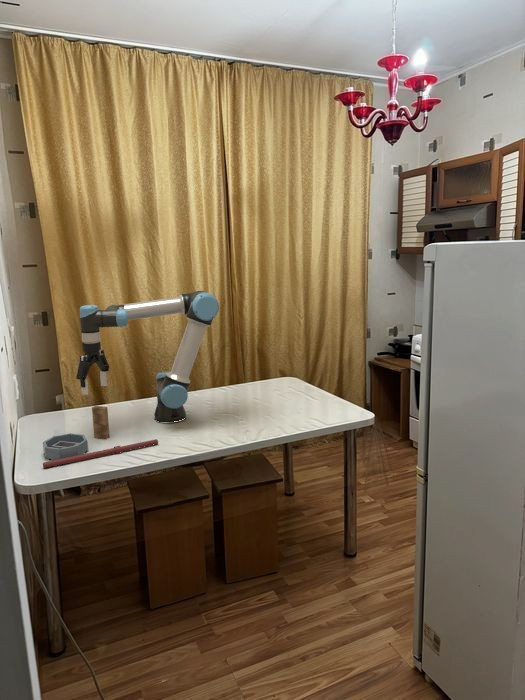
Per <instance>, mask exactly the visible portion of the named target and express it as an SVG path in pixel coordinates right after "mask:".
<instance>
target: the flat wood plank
mask: <svg viewBox="0 0 525 700" xmlns="http://www.w3.org/2000/svg"><path fill="white" fill-rule="evenodd" d="M91 414H92V426H93V438H94V439H97V438H98V440H99V439H100V440H108V439H109V438H110V425H109V424H110V423H109V410H108V406H102V405H100V406H99V405H94V406H93V407H91Z"/></svg>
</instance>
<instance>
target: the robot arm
mask: <svg viewBox="0 0 525 700" xmlns="http://www.w3.org/2000/svg"><path fill="white" fill-rule="evenodd" d="M219 304H220V303H219V301H218V299H217V298H216V296H214V295H213V294H212V293H210V292H207V291H204V290H195V291H191V292H187V293H181V294H179V295H178V296H177V297H176V296H175V297H168V298H167V297H166V298H161V299H154V300H148V301H147V300H146V301H139V302H132V303H124V304H117V305H116V304H111V305H108V306H107V307H106V308H105V309H99V306H98V305H94V304H89V305H88V304H87V305H81V306H80V307H79V324H80V325H79V326H80V333H81V342H82V343H81V347H82V352H84V355H80V356H79V363H78V368H77V373H76V377H75V379H76V380H80V382H79V383H80V388H81V395H87V396H88V395H89V386H88V385H89V383H88V379H87V376H88V374H89V371H90V369H91V366H93V365H94V364H96V365H97V366H98V368H99V369H100V371H99V376H100V377H99V378H100V386H101V387H107V386H108V379H107V377H108V375H107V374H108V373H107V372H110V371H109V370H110V365H109V362H108V360H107V358H106V355H105V350H104V349H102V346H101V343H102V342H101V332H100V331H101V330H100V329H101V328H121V327H127V326H128V325H129V321H134V320H138V319H139V320H140V319H146V318H147V319H148V318H154V317H155V318H156V317H161V316H168V315H169V316H170V315H176V314H181V315H186V316H185V317H186V320H187V324H186V327H185V329H184V332H183V335H182V338H181V341H180V343H179V347H178V349H177V353H176V356H175V358H174V361H173V364H172V367H171V370H170V371H162V372H161V371H160V372H159V373H157V374H156V375H155V381H156V398H157V399H156V401H157V402H156V403H157V404H156V408H155V411H154V416H153V417H154V418H153V419H154V421H155V420H157V421H159V422H158V423H160V422H174V421H179V420H182V419H184V418H185V417H186V418H187V411H186V410H185V407H184V405H185V403H187V400H188V398H189V396H188V395H189V393H188V391H189V389H190V388H189V387H190V385H191V379H190V375H191V373H192V371H193V367H194V365H195V361H196V358H197V355H198V353H199V349H200V347H201V344H202V342H203V339H204V336H205V332H206V329H208V328H209V327H211V326H212V324H213V320H214V318H216V316H217V315H218V314H219V310H220V305H219ZM186 418H185V419H186ZM185 419H184V420H185ZM157 421H156V422H157ZM182 421H183V420H182Z"/></svg>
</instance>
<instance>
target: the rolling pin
mask: <svg viewBox="0 0 525 700" xmlns="http://www.w3.org/2000/svg"><path fill="white" fill-rule="evenodd" d="M153 444H157V445H159V441H158V439H157V438H156V439H151V440H146V441H142V442H141V441H140V442H136V443H132V444H126V445H122V446H121V445H117V446H113V447H112V448H107V449H102V450H98V451H93V452H88V453H87V452H86V453H85V454H82V455H77V456H72V457H68V458H63V459H58V460H49V461H44V462H43V463H42V466H43V467H44V468H43V467H42V468H43V469H47V468H46V467H49V468H52V467H51V466H53V467H56V466H57V465H58V466H62V464H63V465H67V463H68V464H71V463H76V462H77V463H78V462H81V461H86V460H90V459H91V460H92V459H96V458H99V457H100V456H101V457H104V456H110V455H114V454H113V453H119V454H121V453H123V452H122V451H124V452H127V451H126V450H129V451H131V450H130V449H134V450H136V449H135V448H138V449H140V448H139V447H143V448H145V447H144V446H148V447H150V446H149V445H153ZM153 446H154V445H153ZM120 452H121V453H120ZM109 454H110V455H109ZM58 466H57V467H58Z"/></svg>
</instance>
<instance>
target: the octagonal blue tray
mask: <svg viewBox="0 0 525 700" xmlns="http://www.w3.org/2000/svg"><path fill="white" fill-rule="evenodd" d="M42 449H43V453H44V457H45V458H46V459H47V458H48V459H47V460H49V459H51V460H50V461H53V460H58V459H63V458H68V457H72V456H77V455H82V454H84V453H85V454H87V452H86V451H88V450H89V443H88V439H87V437H86V436H85V434H81V433H80V434H79V433H71V432H69V433H65V434H59V435H53V436H51V437H50V438H47V440H44V441H43V442H42Z"/></svg>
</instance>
